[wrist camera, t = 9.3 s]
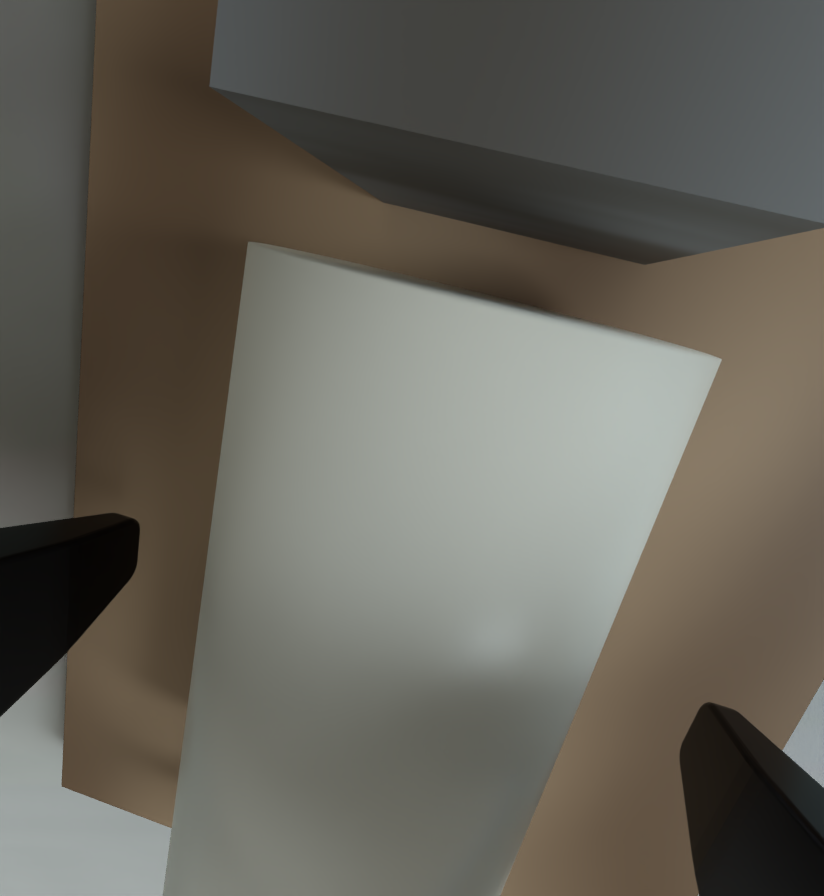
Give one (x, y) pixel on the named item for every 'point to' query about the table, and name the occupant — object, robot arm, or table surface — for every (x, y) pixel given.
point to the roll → (408, 575)
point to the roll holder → (489, 272)
